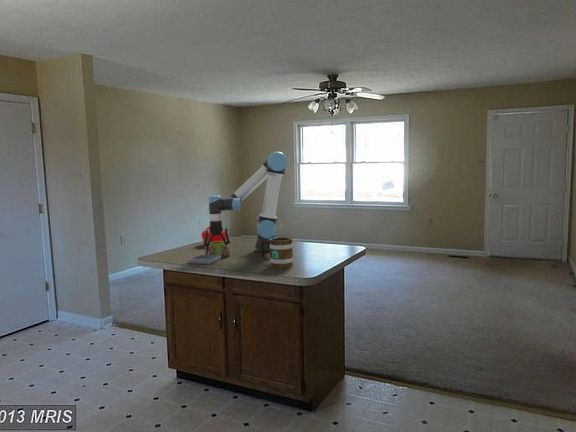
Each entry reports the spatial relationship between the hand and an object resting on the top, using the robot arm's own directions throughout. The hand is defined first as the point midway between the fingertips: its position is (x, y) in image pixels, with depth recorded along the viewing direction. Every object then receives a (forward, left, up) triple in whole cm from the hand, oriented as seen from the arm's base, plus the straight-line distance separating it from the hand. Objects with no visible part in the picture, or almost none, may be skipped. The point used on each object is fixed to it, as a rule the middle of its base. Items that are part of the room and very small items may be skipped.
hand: (217, 255), depth 284 cm
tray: (-1, +16, 0) cm, 16 cm away
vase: (+23, -35, 0) cm, 42 cm away
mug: (-47, +14, 0) cm, 49 cm away
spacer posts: (0, 0, 0) cm, 0 cm away
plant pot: (0, 0, 0) cm, 0 cm away
